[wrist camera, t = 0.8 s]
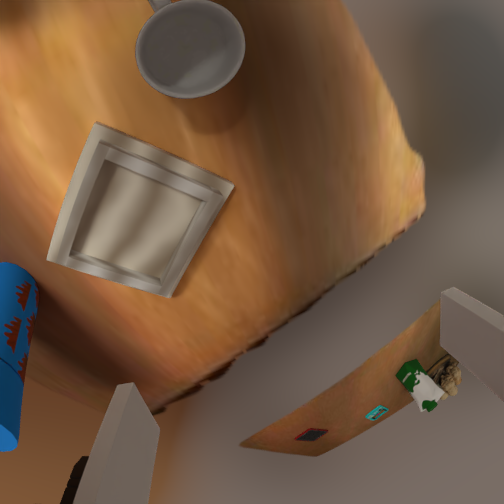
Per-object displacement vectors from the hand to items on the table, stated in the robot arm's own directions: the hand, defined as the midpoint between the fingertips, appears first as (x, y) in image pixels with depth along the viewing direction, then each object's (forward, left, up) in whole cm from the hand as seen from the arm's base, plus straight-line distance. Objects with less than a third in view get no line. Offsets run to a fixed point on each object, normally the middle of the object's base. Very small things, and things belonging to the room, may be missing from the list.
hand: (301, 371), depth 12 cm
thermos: (-16, -30, -34) cm, 48 cm away
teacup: (-7, +12, -34) cm, 37 cm away
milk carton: (+102, -30, -34) cm, 112 cm away
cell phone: (+86, -70, -35) cm, 116 cm away
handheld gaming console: (+119, -59, -35) cm, 137 cm away
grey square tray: (-1, -11, -34) cm, 36 cm away
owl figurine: (+133, -30, -34) cm, 140 cm away
